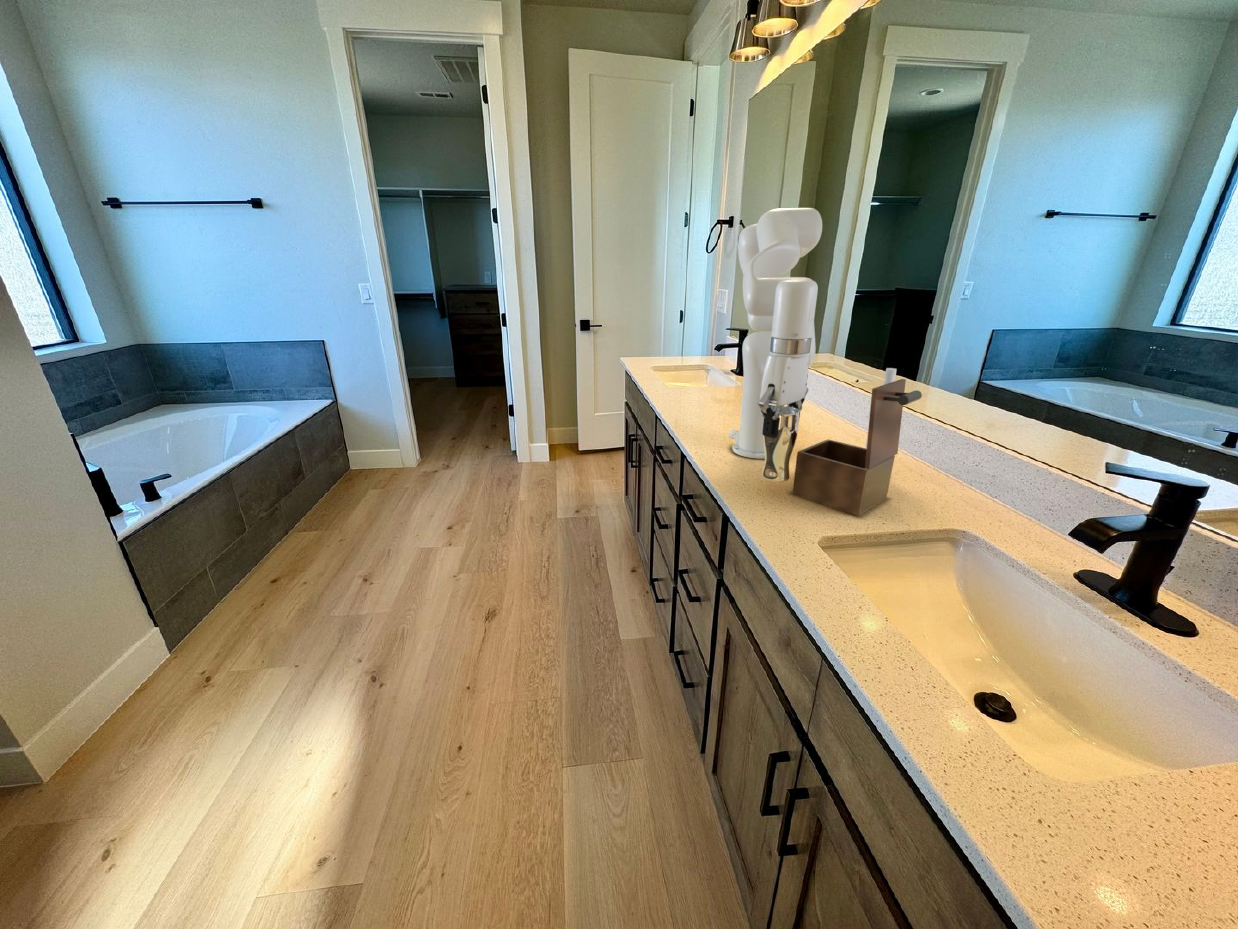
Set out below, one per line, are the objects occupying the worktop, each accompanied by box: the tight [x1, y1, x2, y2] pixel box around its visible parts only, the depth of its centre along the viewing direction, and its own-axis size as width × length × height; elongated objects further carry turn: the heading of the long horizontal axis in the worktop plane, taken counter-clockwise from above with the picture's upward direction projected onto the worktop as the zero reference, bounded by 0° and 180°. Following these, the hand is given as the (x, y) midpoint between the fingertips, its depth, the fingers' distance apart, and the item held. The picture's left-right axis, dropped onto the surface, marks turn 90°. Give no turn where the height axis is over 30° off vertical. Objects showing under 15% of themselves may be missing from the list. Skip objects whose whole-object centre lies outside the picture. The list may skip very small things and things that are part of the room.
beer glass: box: [760, 405, 801, 483], centre depth 104 cm, size 7×7×15 cm
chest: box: [791, 438, 896, 517], centre depth 104 cm, size 15×13×10 cm
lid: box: [865, 378, 923, 469], centre depth 93 cm, size 15×13×5 cm
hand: (780, 431), depth 103 cm, fingers closed on beer glass, 7 cm apart
